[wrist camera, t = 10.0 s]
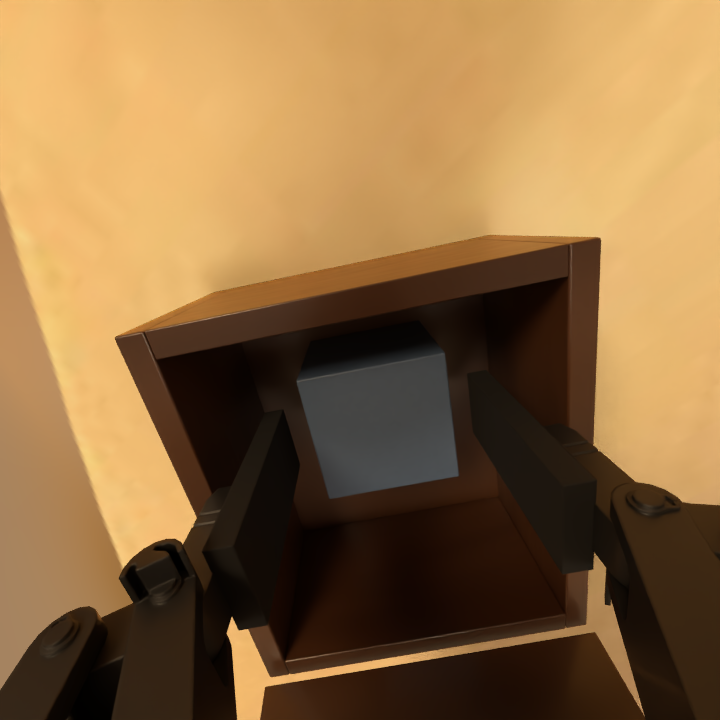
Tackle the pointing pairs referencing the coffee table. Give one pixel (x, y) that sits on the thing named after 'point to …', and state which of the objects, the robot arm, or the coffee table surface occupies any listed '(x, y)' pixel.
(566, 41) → the coffee table surface
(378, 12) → the coffee table surface
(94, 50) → the coffee table surface
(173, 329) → the chest
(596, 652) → the lid
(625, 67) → the coffee table surface
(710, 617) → the robot arm
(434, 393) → the block
